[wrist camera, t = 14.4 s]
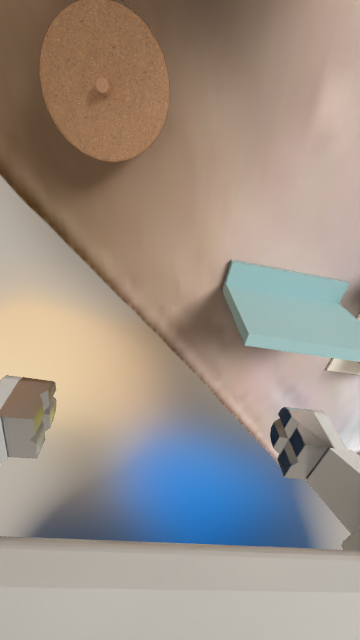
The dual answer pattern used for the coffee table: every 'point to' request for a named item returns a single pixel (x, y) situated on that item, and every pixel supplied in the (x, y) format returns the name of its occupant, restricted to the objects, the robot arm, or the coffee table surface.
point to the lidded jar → (104, 80)
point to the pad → (344, 364)
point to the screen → (291, 311)
